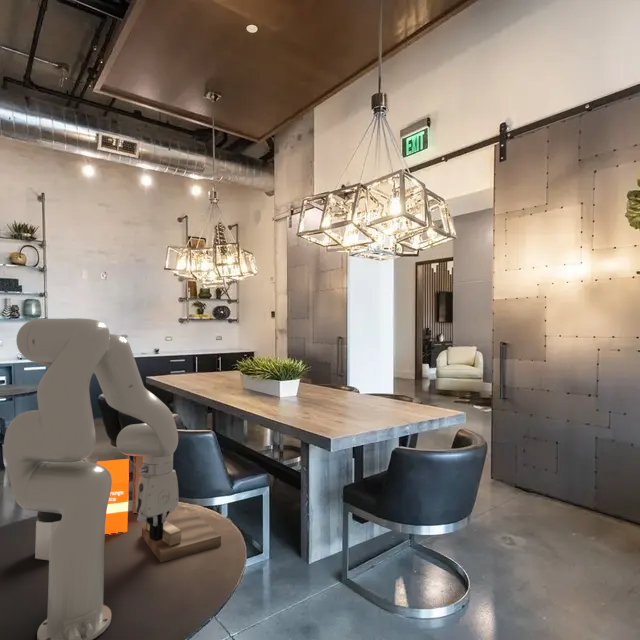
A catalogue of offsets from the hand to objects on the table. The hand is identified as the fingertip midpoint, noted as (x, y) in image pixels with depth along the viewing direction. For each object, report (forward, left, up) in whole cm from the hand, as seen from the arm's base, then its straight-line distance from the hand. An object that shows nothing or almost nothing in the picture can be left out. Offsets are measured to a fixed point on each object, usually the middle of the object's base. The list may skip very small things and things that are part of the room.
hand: (156, 538), depth 116 cm
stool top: (+4, -8, -4) cm, 9 cm away
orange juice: (+23, +6, -4) cm, 24 cm away
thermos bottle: (+32, -6, -4) cm, 33 cm away
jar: (+16, +21, -4) cm, 27 cm away
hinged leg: (+4, -3, -1) cm, 5 cm away
